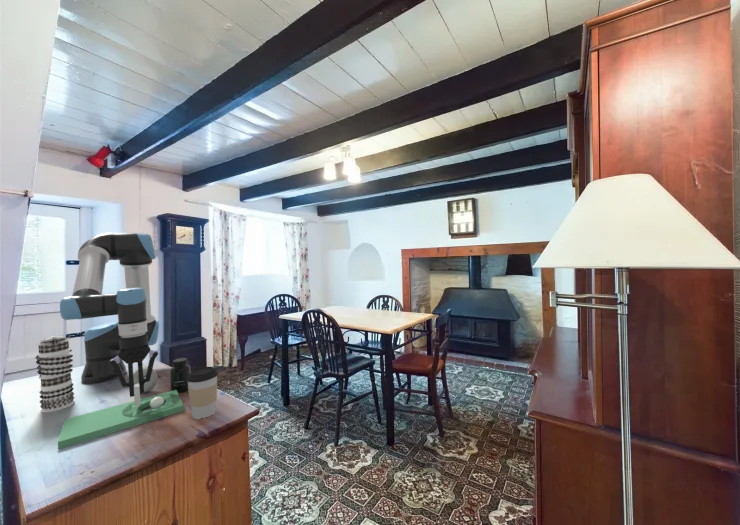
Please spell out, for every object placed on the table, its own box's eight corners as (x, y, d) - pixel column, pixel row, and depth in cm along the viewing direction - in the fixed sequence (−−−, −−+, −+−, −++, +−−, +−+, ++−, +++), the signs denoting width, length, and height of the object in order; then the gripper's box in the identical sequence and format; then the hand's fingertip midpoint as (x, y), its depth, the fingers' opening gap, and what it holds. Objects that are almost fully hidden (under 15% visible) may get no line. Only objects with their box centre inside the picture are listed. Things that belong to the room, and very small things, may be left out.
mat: (66, 425, 97) (65, 419, 97) (176, 394, 116) (176, 389, 116) (58, 449, 85) (57, 442, 84) (183, 410, 104) (183, 405, 103)
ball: (153, 393, 106) (165, 396, 109) (147, 405, 105) (159, 407, 108) (154, 398, 103) (166, 400, 105) (147, 410, 102) (160, 412, 104)
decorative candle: (39, 407, 110) (34, 338, 109) (74, 397, 116) (70, 332, 116) (38, 416, 103) (34, 342, 103) (76, 405, 110) (72, 336, 109)
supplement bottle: (176, 395, 116) (174, 364, 115) (167, 391, 119) (165, 361, 119) (194, 388, 121) (193, 358, 121) (185, 384, 125) (184, 355, 125)
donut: (160, 390, 121) (159, 365, 120) (153, 394, 117) (152, 368, 117) (137, 389, 122) (136, 365, 121) (129, 393, 118) (128, 368, 118)
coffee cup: (187, 424, 95) (185, 376, 95) (189, 411, 103) (187, 367, 103) (219, 416, 99) (217, 370, 99) (219, 404, 107) (217, 362, 107)
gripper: (107, 341, 94) (111, 416, 95) (158, 333, 102) (162, 402, 103) (108, 336, 100) (112, 407, 101) (156, 329, 108) (159, 394, 109)
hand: (137, 404), depth 102 cm, fingers closed
